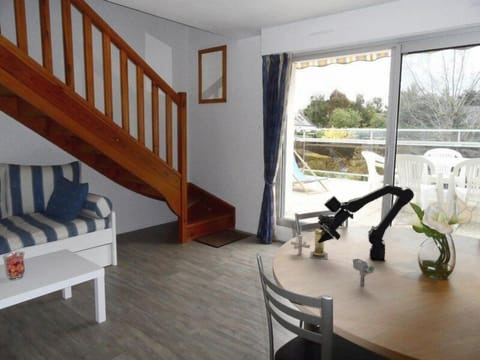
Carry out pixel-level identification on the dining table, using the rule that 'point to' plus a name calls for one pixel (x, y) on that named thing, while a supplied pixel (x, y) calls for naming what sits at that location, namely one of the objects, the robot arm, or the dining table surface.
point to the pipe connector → (300, 245)
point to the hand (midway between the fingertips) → (316, 241)
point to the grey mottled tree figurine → (362, 269)
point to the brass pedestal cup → (319, 246)
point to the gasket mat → (319, 256)
